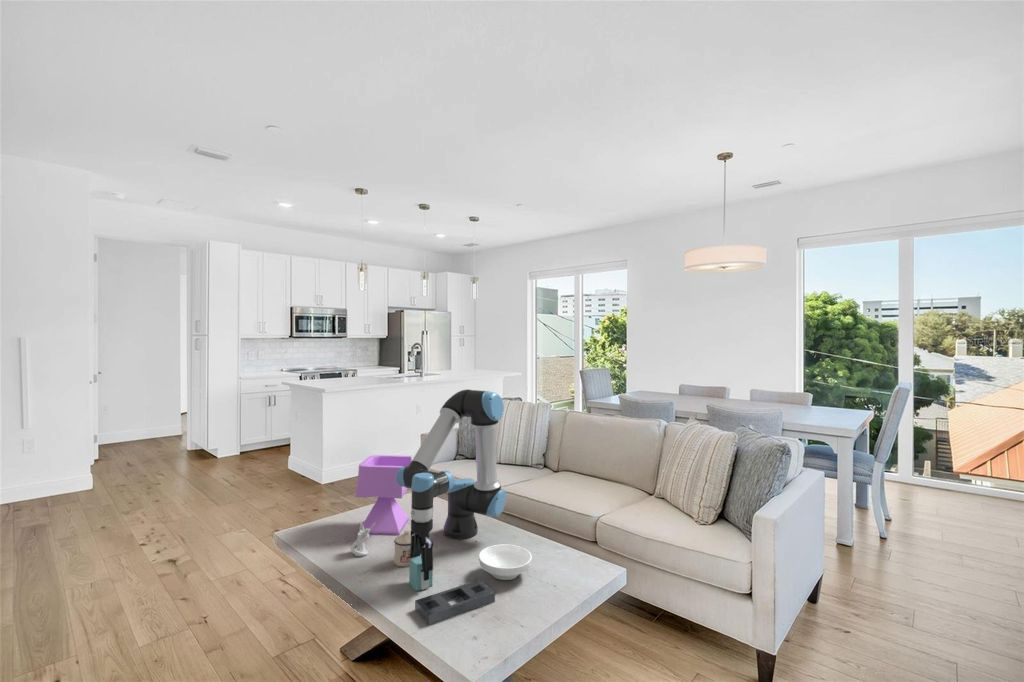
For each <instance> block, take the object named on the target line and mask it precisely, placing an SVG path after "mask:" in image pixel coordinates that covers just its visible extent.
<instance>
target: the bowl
mask: <svg viewBox="0 0 1024 682" xmlns="http://www.w3.org/2000/svg"><path fill="white" fill-rule="evenodd" d="M532 560H533V557H532V554H531V552H530V551H529V550H528V549H526V548H524V547H523V546H519V545H515V544H509V543H508V544H506V543H504V544H495V545H490V546H488V547H485V548H483V549H482V550H481V551H480V552H479V553H478V561H479V565H480V567H481V568H482V569H483V570H484V571H485V572H487V573H489V574H490V575H491V576H492V577H494V578H495V579H497V580H500V581H501V580H502V581H511V580H514V579H516V578H517V577H518V576H519V575H520V574H522V573H524V572H526V571H528V569H530V567H531V564H532Z"/></svg>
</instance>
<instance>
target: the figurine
mask: <svg viewBox="0 0 1024 682" xmlns="http://www.w3.org/2000/svg"><path fill="white" fill-rule="evenodd" d="M363 523H364V522H361V521H360V522H359V529H358V533H357V537H356V538H357V539H356V540H354V542H353V543H352V545H351V547H350V552H352V553H353V554H355V555H354V556H355V557H364V556H367V555H368V552H369V550H368V549H367V548H366V544H365V541H366V540H367V539H368V538H369V537H370V535H371V534H369V532H370V530H371V529H372V528H373V526H374V525H375V523H374V524H373V525H372V527H371V528H370V529H368V528H367V529H365V530H364V527H363Z"/></svg>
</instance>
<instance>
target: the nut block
mask: <svg viewBox="0 0 1024 682" xmlns="http://www.w3.org/2000/svg"><path fill="white" fill-rule="evenodd" d="M408 569H409V571H408V572H409V578H408V580H409V581H408V583H409V584H408V585H410V586H411V587H412V588H413V590H414V591H416V592H420V591H422V590H421V570H423V569H422V559H421V555H420V556H417V557H413V558H410V566H409V568H408ZM433 570H434V569H433ZM433 570H431V571H429V588H431V587H433V575H434V574H433V573H434V572H433Z"/></svg>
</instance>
